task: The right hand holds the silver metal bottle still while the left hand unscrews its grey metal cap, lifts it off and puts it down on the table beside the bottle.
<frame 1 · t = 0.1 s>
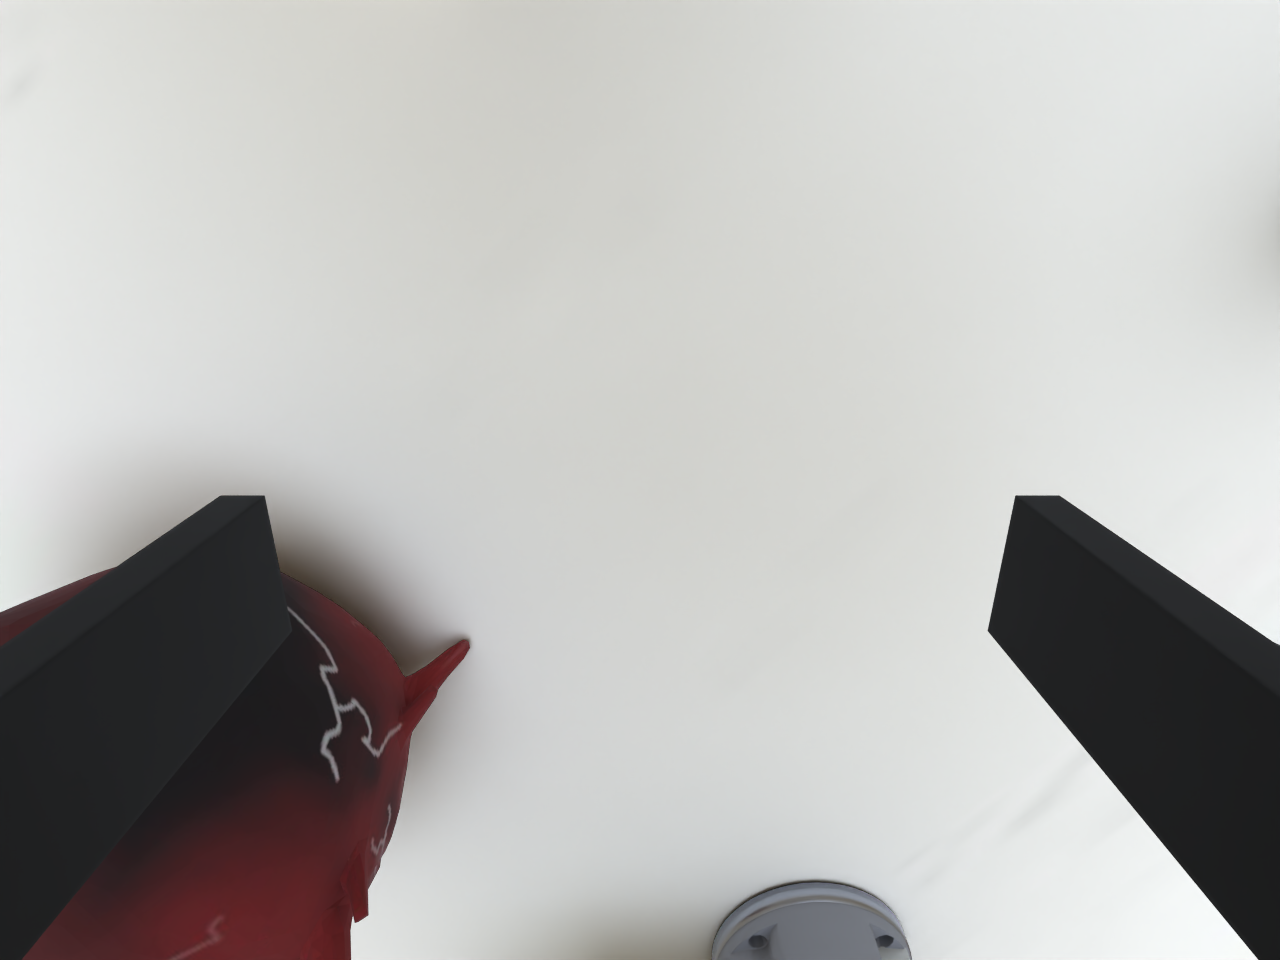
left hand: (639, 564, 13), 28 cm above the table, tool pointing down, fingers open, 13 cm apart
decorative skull: (269, 677, 47), on the table
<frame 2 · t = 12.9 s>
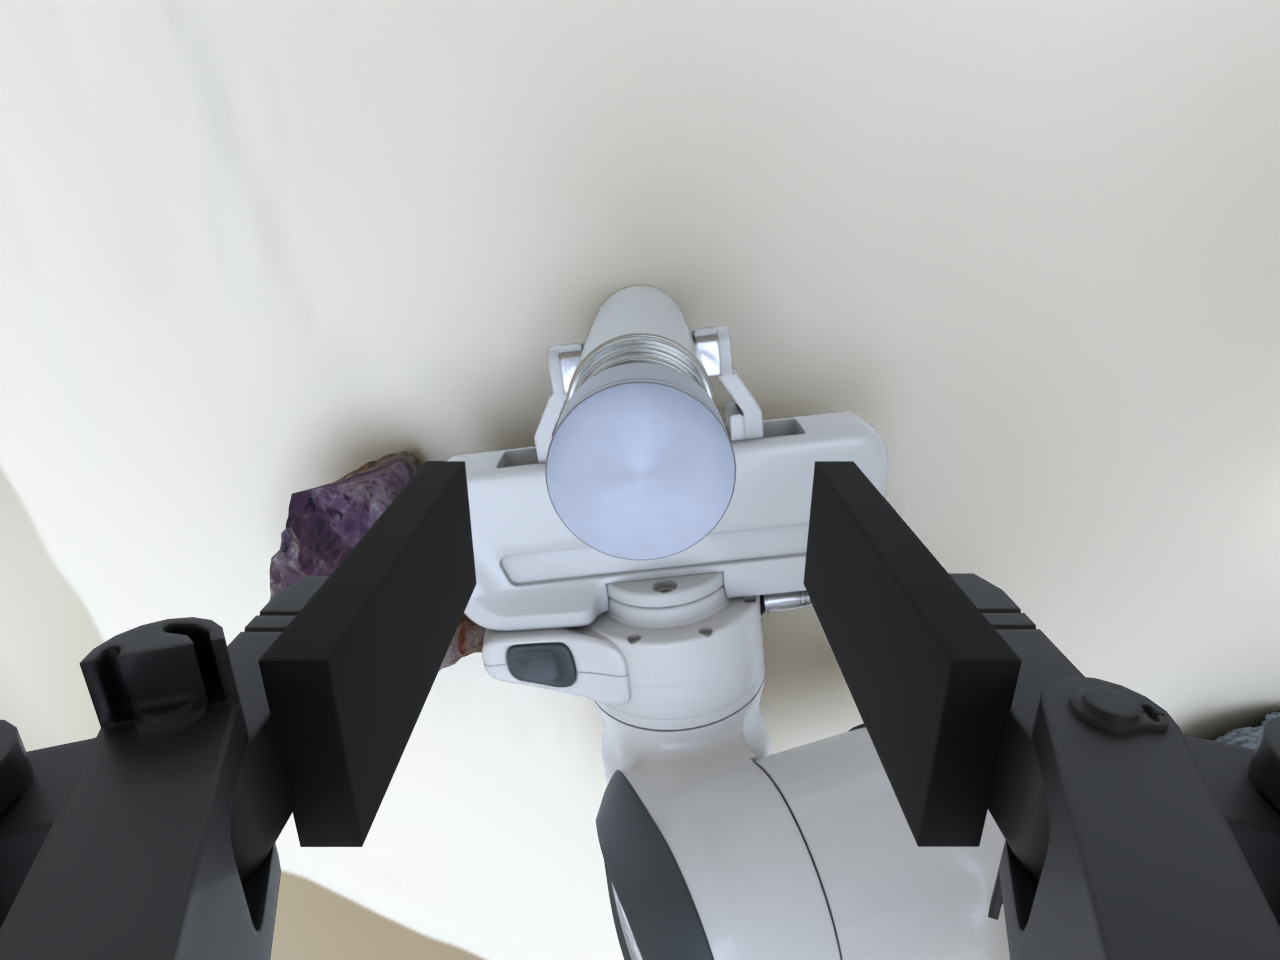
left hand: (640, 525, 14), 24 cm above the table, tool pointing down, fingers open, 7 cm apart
cap: (640, 471, 17), point 20 cm above the table, screwed on, not yet turned
rock: (407, 544, 40), on the table
bottle: (639, 333, 36), on the table, touching right hand
koala plush: (1247, 791, 47), on the table
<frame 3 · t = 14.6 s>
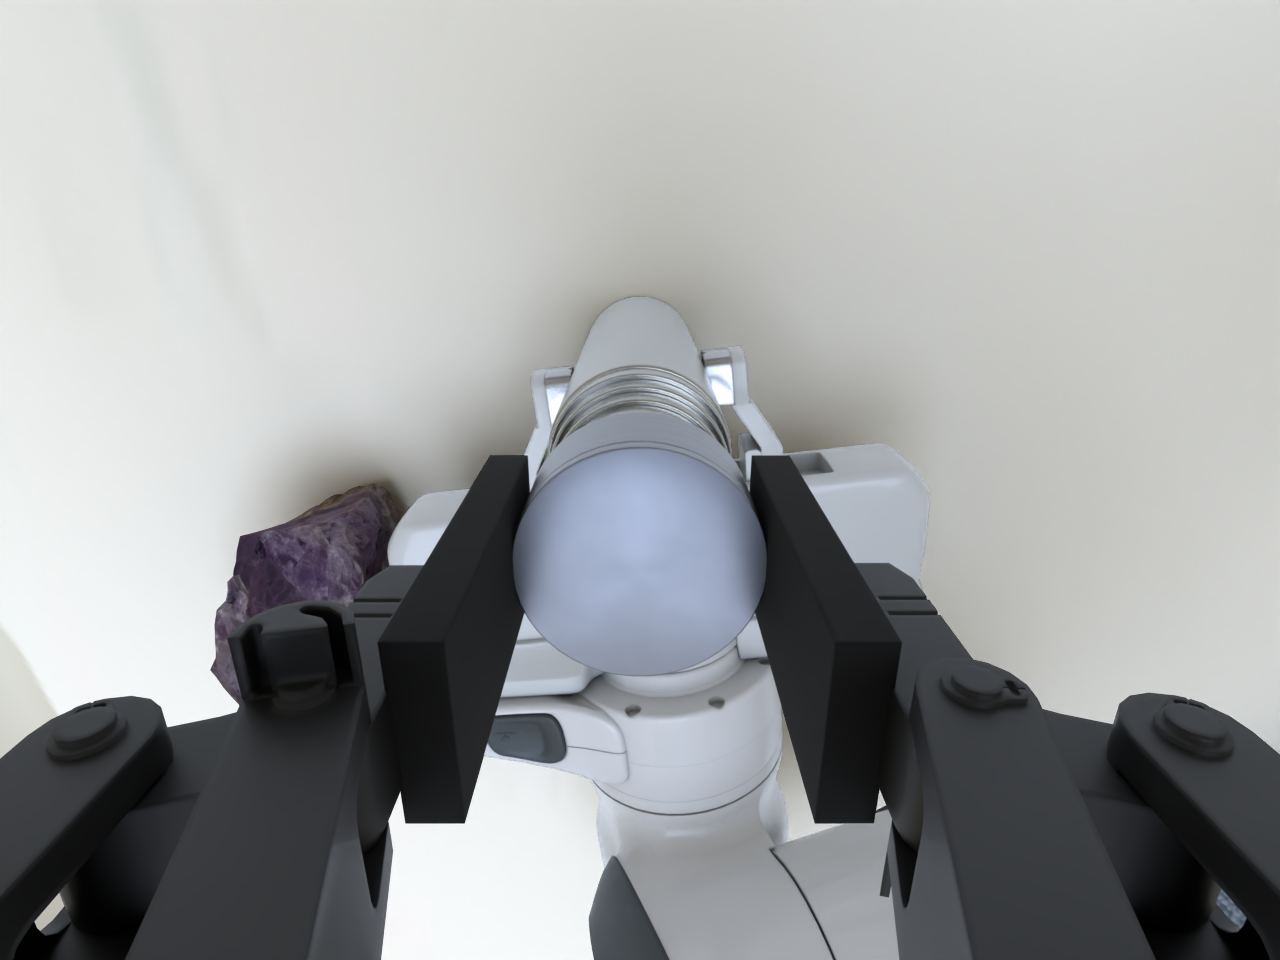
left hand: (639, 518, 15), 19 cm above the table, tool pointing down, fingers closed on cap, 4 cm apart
cap: (639, 561, 13), point 20 cm above the table, screwed on, not yet turned, touching left hand
rock: (379, 585, 36), on the table
bottle: (639, 350, 32), on the table, touching right hand
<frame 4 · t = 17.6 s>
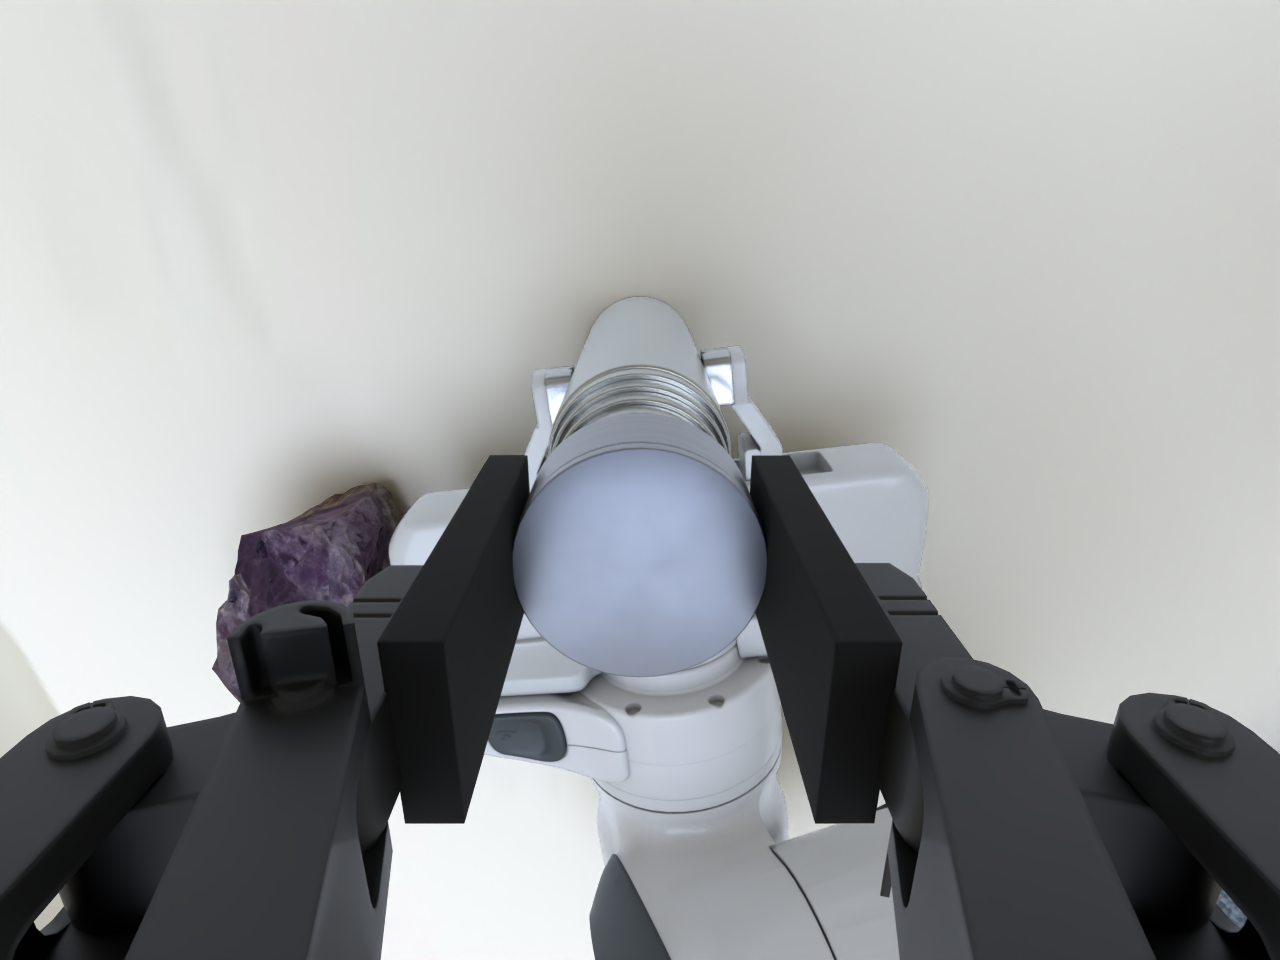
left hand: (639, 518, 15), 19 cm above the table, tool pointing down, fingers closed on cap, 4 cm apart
cap: (639, 562, 13), point 21 cm above the table, turned 93° so far, risen 0.1 cm, still on its thread, touching left hand
rock: (380, 584, 36), on the table
bottle: (639, 350, 32), on the table, touching right hand
when the left hand's fingers open (1 cm above the table, at t = 32.8 s): cap drops 1 cm, point 2 cm above the table.
when the right hand's fingers open (7 cm above the table, at t = 34.0 s): bottle stays where it is, on the table.
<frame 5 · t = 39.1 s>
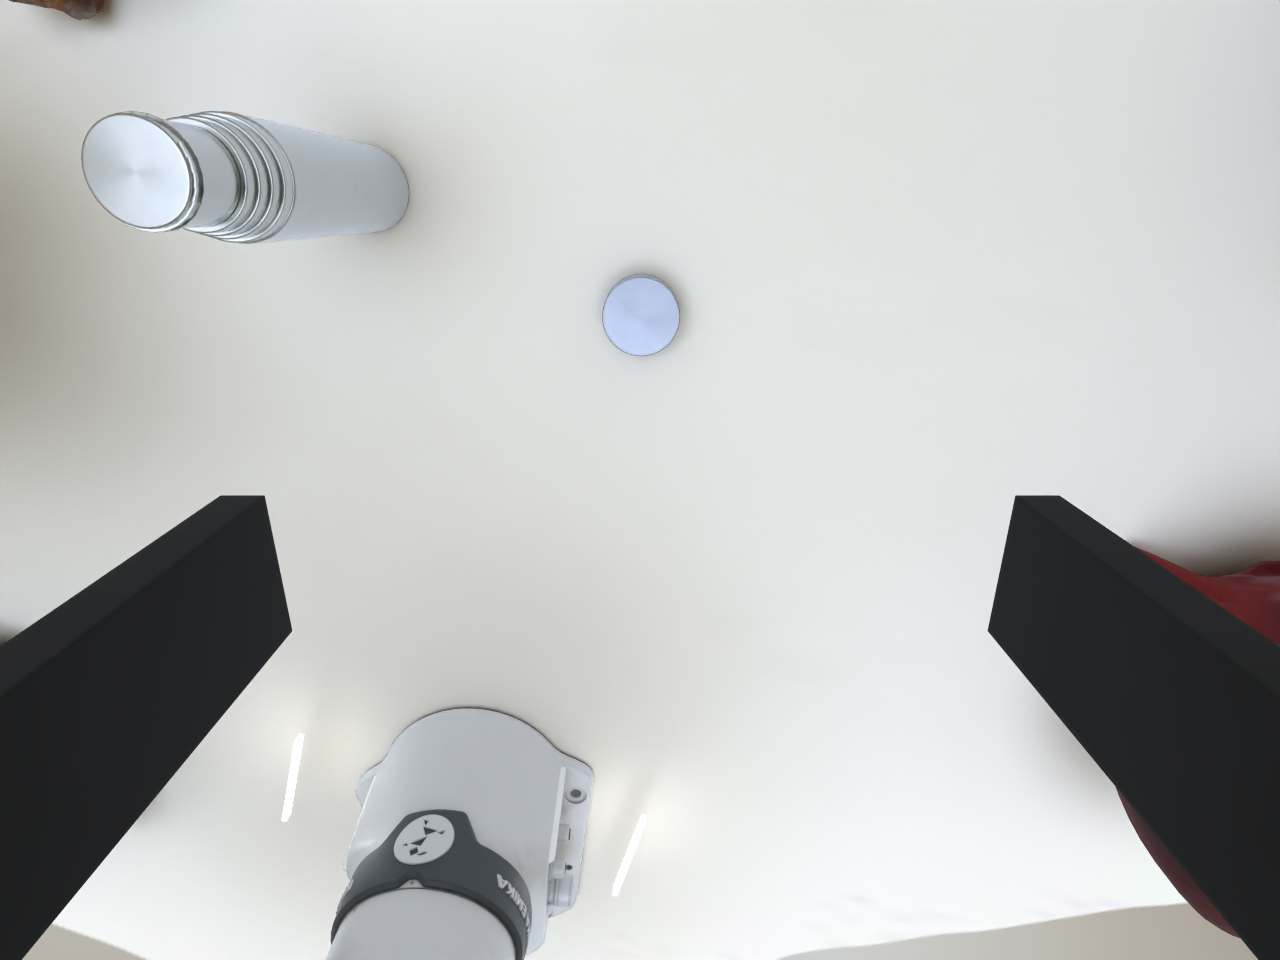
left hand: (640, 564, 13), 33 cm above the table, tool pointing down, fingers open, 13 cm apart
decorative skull: (1228, 657, 53), on the table
cap: (641, 316, 42), point 2 cm above the table, off its thread
bottle: (368, 189, 41), on the table
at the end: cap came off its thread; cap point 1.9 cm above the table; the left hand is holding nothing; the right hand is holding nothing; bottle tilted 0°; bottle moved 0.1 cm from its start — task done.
